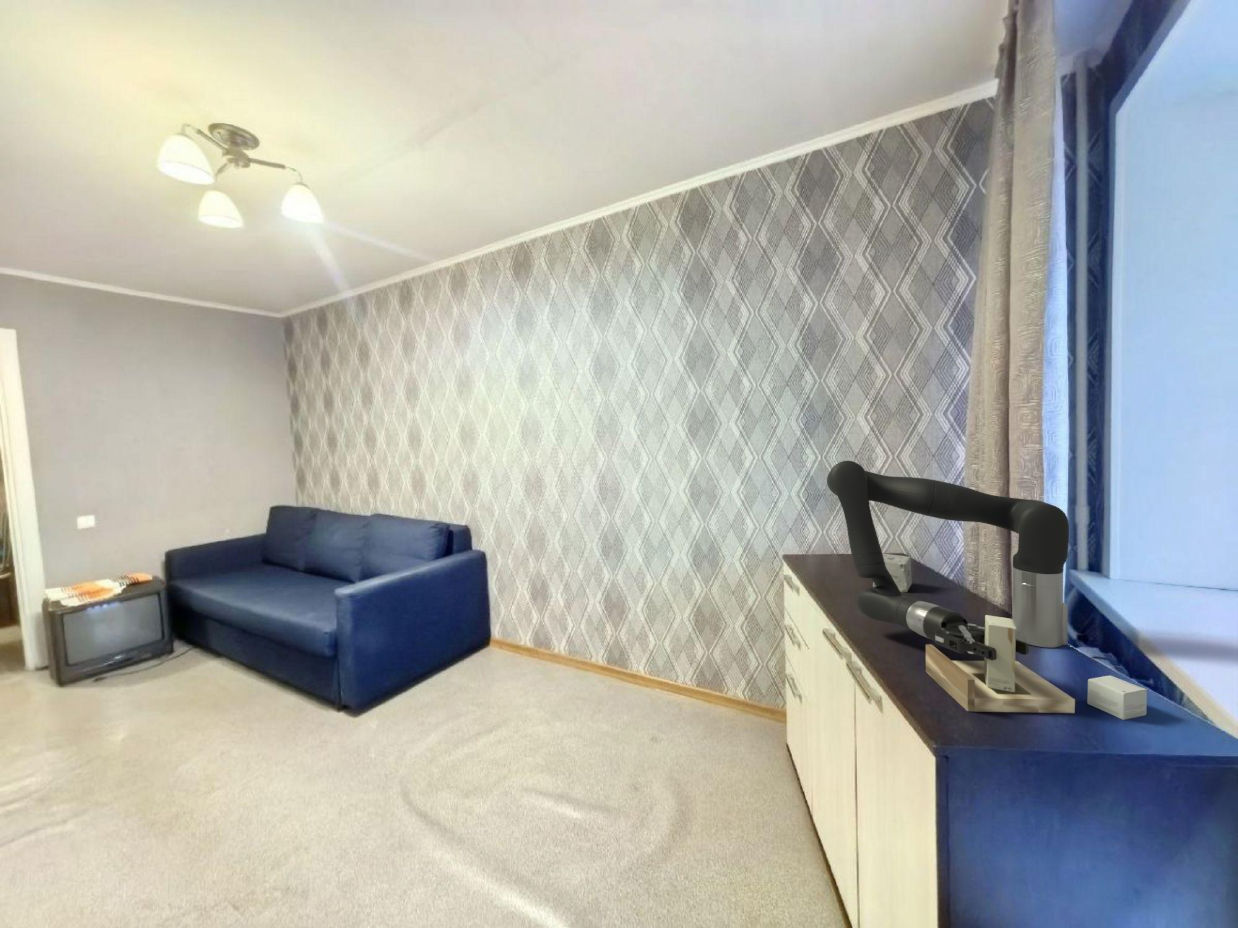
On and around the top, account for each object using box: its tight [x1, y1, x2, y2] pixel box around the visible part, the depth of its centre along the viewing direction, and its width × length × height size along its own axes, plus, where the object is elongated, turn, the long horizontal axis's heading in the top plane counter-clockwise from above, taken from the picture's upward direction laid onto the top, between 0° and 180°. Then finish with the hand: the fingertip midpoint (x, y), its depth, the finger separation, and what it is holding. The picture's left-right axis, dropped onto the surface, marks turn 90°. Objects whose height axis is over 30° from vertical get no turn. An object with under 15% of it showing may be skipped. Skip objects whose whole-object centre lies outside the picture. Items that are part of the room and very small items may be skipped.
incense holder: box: [872, 552, 913, 593], centre depth 160 cm, size 10×8×10 cm
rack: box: [925, 644, 1076, 714], centre depth 97 cm, size 18×15×6 cm
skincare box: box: [983, 614, 1017, 692], centre depth 95 cm, size 6×4×12 cm
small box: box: [1086, 675, 1148, 721], centre depth 90 cm, size 6×6×5 cm
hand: (1011, 652), depth 93 cm, fingers closed on skincare box, 7 cm apart
